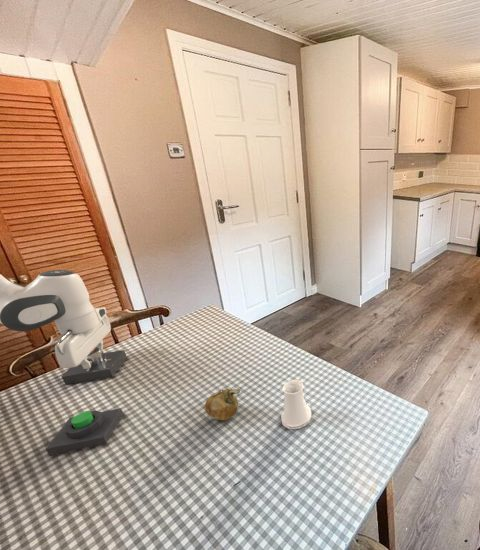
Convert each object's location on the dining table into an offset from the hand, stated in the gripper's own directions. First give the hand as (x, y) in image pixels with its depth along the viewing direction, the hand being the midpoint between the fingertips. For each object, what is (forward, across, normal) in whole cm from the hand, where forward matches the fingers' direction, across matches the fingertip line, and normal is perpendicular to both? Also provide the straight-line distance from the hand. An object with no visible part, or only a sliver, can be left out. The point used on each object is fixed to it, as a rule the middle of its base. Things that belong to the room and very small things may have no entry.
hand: (94, 360), depth 94 cm
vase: (+4, -35, -59) cm, 69 cm away
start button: (0, -27, -10) cm, 29 cm away
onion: (+4, -30, -41) cm, 51 cm away
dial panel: (+4, 0, 0) cm, 4 cm away
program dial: (+1, 0, 0) cm, 1 cm away
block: (+4, -27, -10) cm, 29 cm away
